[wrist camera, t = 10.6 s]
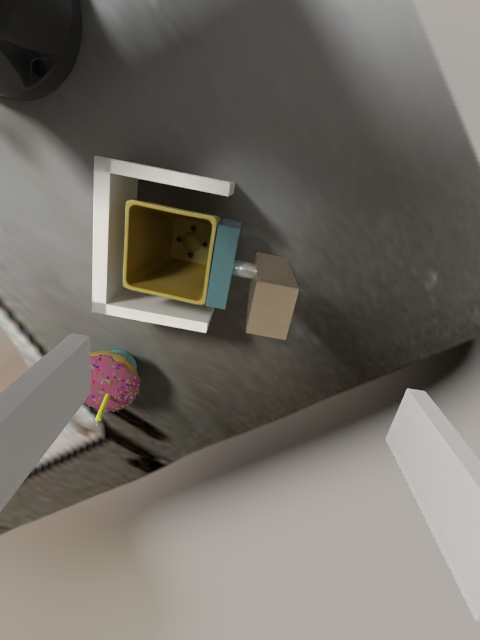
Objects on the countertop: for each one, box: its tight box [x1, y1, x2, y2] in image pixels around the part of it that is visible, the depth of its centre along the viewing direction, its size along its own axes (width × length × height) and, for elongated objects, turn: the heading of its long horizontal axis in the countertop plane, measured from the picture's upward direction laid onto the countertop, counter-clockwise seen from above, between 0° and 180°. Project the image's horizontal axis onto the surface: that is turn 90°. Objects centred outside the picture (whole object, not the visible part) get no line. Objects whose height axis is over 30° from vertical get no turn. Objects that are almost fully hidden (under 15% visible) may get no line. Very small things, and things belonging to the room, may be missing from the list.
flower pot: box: [123, 200, 222, 305], centre depth 36 cm, size 9×9×9 cm
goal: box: [92, 156, 235, 333], centre depth 37 cm, size 15×12×8 cm
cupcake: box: [84, 350, 140, 426], centre depth 42 cm, size 9×8×12 cm
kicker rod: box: [206, 219, 299, 340], centre depth 32 cm, size 8×7×18 cm
